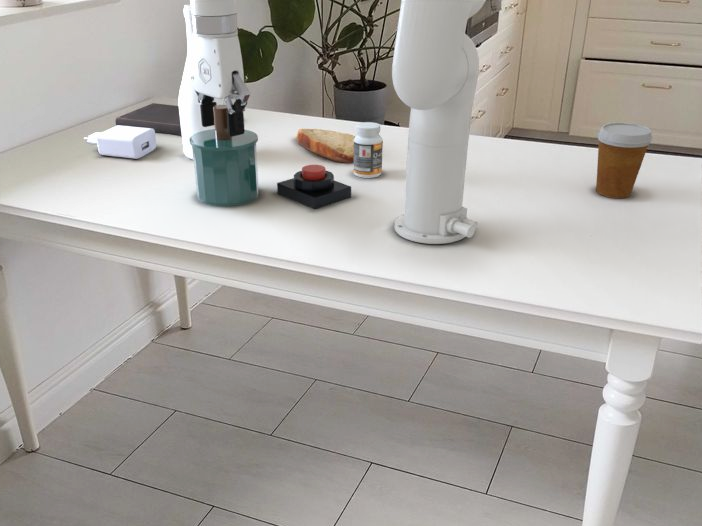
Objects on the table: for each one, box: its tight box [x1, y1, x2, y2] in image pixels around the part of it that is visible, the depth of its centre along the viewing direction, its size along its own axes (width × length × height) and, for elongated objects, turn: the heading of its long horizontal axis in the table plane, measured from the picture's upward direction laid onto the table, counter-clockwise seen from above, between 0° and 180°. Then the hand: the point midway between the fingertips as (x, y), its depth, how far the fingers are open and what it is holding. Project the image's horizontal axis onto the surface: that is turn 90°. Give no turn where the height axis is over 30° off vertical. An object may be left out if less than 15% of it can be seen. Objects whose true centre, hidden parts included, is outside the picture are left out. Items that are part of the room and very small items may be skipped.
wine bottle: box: [177, 3, 225, 161], centre depth 156 cm, size 10×10×30 cm
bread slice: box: [295, 128, 357, 164], centre depth 166 cm, size 18×18×4 cm
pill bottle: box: [353, 121, 384, 179], centre depth 150 cm, size 6×6×10 cm
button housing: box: [276, 169, 352, 210], centre depth 141 cm, size 11×9×4 cm
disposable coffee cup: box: [595, 122, 654, 199], centre depth 139 cm, size 10×10×12 cm
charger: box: [83, 125, 157, 160], centre depth 166 cm, size 5×9×15 cm
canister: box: [192, 142, 260, 208], centre depth 140 cm, size 11×11×10 cm
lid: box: [189, 104, 259, 151], centre depth 135 cm, size 12×12×7 cm
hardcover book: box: [115, 102, 182, 136], centre depth 184 cm, size 16×23×2 cm
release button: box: [301, 164, 326, 180], centre depth 140 cm, size 4×4×2 cm
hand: (223, 129), depth 136 cm, fingers open, 7 cm apart
